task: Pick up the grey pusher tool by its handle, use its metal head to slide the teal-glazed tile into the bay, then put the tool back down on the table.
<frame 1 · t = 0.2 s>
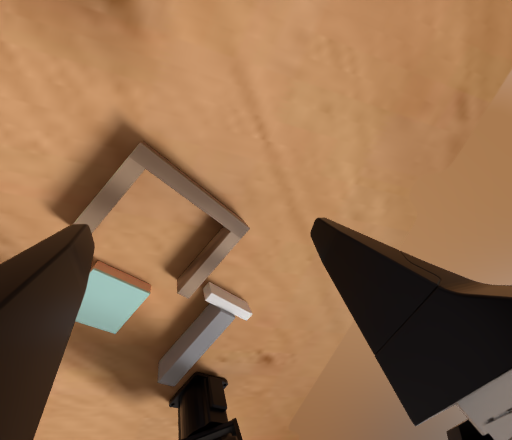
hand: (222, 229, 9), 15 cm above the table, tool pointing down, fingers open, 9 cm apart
tile: (109, 291, 24), on the table
bay: (168, 223, 23), on the table
pusher tool: (194, 330, 30), on the table
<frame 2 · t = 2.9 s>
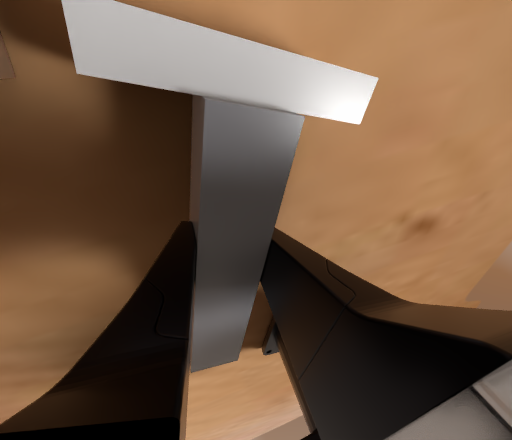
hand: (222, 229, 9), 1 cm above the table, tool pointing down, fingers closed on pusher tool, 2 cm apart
pusher tool: (215, 237, 10), on the table, touching gripper
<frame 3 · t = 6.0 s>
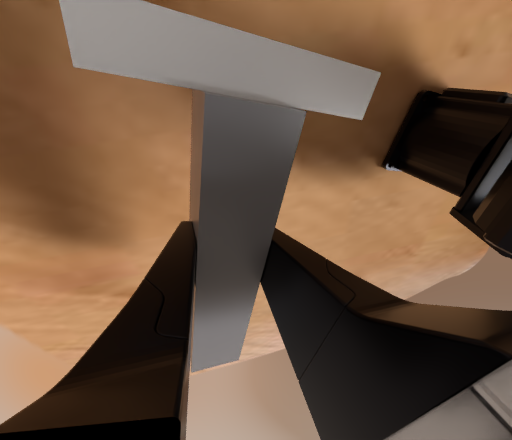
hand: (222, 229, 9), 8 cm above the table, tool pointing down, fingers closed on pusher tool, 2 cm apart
pusher tool: (215, 236, 10), point 7 cm above the table, touching gripper
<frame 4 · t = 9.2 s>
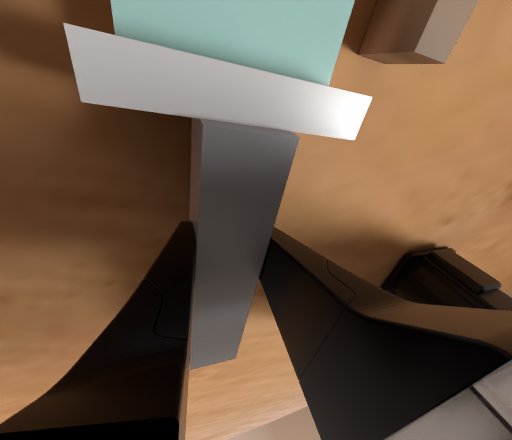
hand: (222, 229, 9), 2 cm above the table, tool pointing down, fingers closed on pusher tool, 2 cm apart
pusher tool: (214, 242, 11), point 1 cm above the table, touching gripper
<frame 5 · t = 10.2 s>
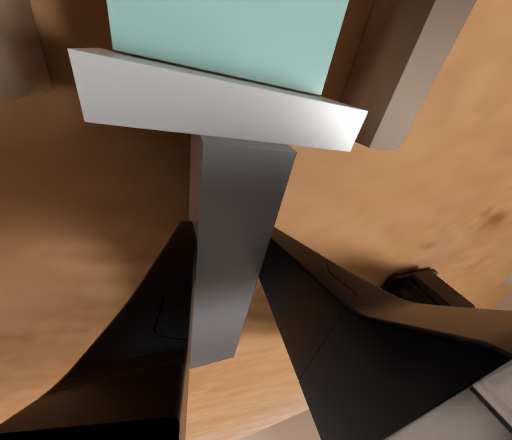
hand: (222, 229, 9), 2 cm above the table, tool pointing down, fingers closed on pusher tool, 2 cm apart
pusher tool: (213, 245, 11), point 1 cm above the table, touching gripper
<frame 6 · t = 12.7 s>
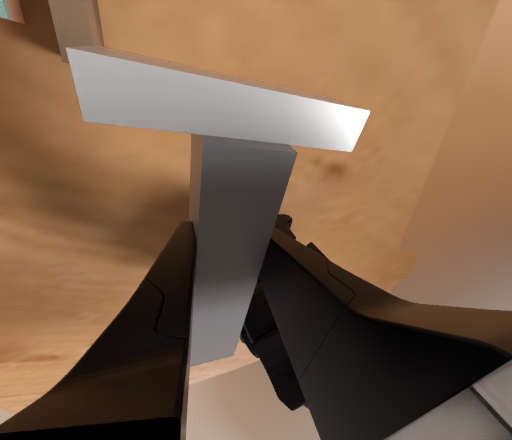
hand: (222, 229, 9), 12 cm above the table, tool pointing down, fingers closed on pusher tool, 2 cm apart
pusher tool: (213, 244, 11), point 10 cm above the table, touching gripper
when the fingers open (2 cm above the table, at t = 14.5 s): pusher tool drops 1 cm, on the table.
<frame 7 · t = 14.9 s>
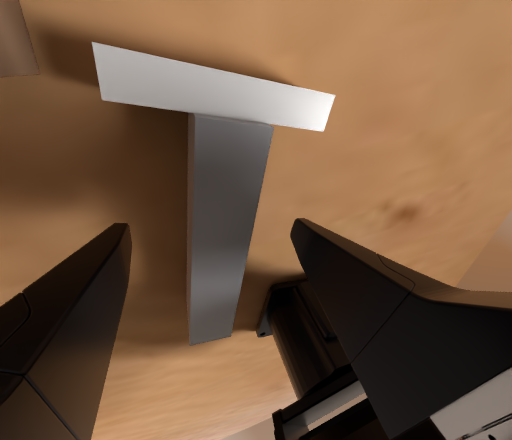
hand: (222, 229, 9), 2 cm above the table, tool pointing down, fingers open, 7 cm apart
pusher tool: (209, 228, 12), on the table
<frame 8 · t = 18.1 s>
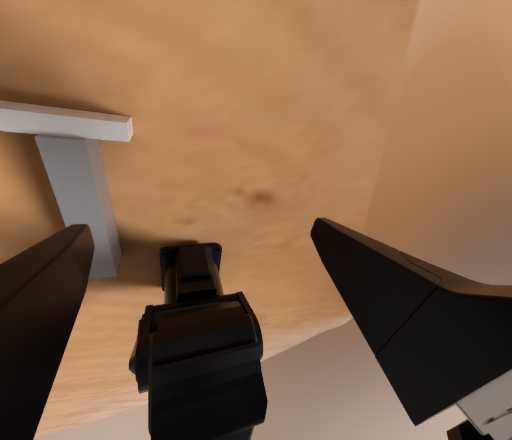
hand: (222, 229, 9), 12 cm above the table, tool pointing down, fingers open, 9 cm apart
pusher tool: (95, 202, 18), on the table
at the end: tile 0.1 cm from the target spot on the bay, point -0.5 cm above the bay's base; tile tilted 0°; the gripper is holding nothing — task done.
